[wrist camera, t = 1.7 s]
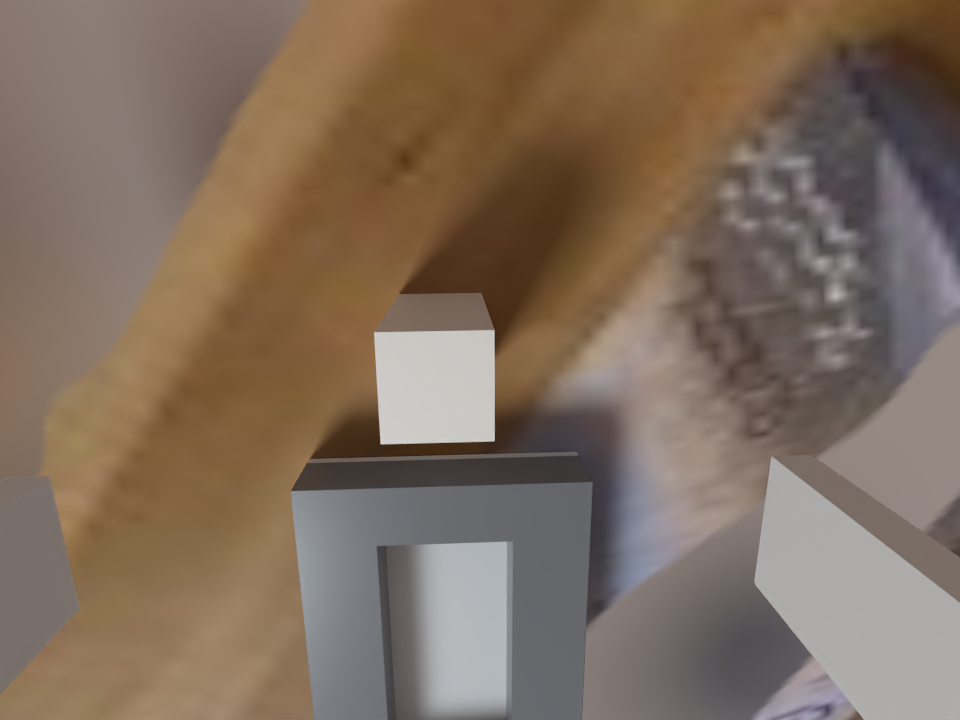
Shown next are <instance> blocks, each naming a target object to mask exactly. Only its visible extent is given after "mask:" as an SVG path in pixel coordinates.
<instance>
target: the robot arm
mask: <svg viewBox="0 0 960 720" xmlns="http://www.w3.org/2000/svg"><path fill="white" fill-rule="evenodd" d="M754 583H755V585H756V586H757V587H758V588H759V590H760V591H761V592H762V593H763V595H764V596H765V597H766V598H767V600H768V601H769V602H770V603H771V604H772V606H773V607H774V608H775V609H776V611H777V612H778V613H779V614H780V616H781V617H782V618H783V619H784V620H785V622H786V623H787V624H788V626H789V627H790V628H791V629H792V631H793V632H794V633H795V634H796V636H797V637H798V638H799V639H800V641H801V642H802V643H803V644H804V645H805V647H806V648H807V649H808V651H809V652H810V653H811V654H812V655H813V657H814V658H815V659H816V660H817V662H818V663H819V664H820V665H821V667H822V668H823V669H824V670H825V672H826V673H827V674H828V675H829V677H830V678H831V679H832V680H833V682H834V683H835V684H836V685H837V687H838V688H839V689H840V690H841V692H842V693H843V694H844V695H845V697H846V698H847V699H848V700H849V701H850V703H851V704H852V705H853V706H854V708H855V709H856V710H857V711H858V713H859V714H860V715H861V716H862V718H863V719H864V720H960V557H958V556H957V555H955V554H954V553H953V552H951V551H950V550H948V549H947V548H945V547H944V546H942V545H941V544H939V543H938V542H937V541H935V540H934V539H932V538H931V537H929V536H928V535H926V534H925V533H924V532H922V531H921V530H919V529H917V528H916V527H915V526H913V525H912V524H910V523H909V522H907V521H906V520H905V519H903V518H902V517H900V516H899V515H897V514H896V513H895V512H893V511H892V510H890V509H889V508H887V507H886V506H884V505H883V504H881V503H880V502H878V501H877V500H875V499H874V498H873V497H871V496H870V495H868V494H867V493H866V492H864V491H863V490H861V489H860V488H858V487H857V486H855V485H854V484H852V483H851V482H850V481H848V480H847V479H845V478H844V477H842V476H841V475H839V474H838V473H837V472H835V471H833V470H832V469H830V468H829V467H828V466H826V465H825V464H823V463H822V462H820V461H819V460H818V459H816V458H815V457H813V456H812V455H797V456H772V457H771V464H770V471H769V479H768V486H767V493H766V501H765V508H764V515H763V523H762V530H761V537H760V545H759V552H758V559H757V567H756V574H755V582H754ZM78 610H79V605H78V600H77V596H76V591H75V587H74V582H73V578H72V574H71V569H70V565H69V560H68V556H67V551H66V547H65V543H64V538H63V534H62V529H61V525H60V520H59V516H58V512H57V507H56V503H55V498H54V494H53V489H52V485H51V481H50V477H20V478H4V479H2V480H1V481H0V694H1V693H2V692H3V691H4V690H5V689H6V687H7V686H8V685H9V684H10V683H11V682H12V681H13V680H14V679H15V678H16V677H17V676H18V675H19V673H20V672H21V671H22V670H23V669H24V668H25V667H26V666H27V665H28V664H29V663H30V662H31V661H32V659H33V658H34V657H35V656H36V655H37V654H38V653H39V652H40V651H41V650H42V649H43V648H44V647H45V645H46V644H47V643H48V642H49V641H50V640H51V639H52V638H53V637H54V636H55V635H56V634H57V633H58V631H59V630H60V629H61V628H62V627H63V626H64V625H65V624H66V623H67V622H68V621H69V620H70V619H71V617H72V616H73V615H74V614H75V613H76V612H77V611H78Z"/></svg>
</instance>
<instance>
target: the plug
mask: <svg viewBox="0 0 960 720" xmlns="http://www.w3.org/2000/svg"><path fill="white" fill-rule="evenodd" d="M374 338H375V356H376V373H377V391H378V408H379V426H380V443H381V444H414V443H452V442H490V441H495V330H494V327H493V324H492V322H491V319H490V316H489V313H488V310H487V308H486V305H485V302H484V299H483V296H482V293H437V294H399V295H398V296H397V298H396V299H395V301H394V302H393V304H392V306H391V307H390V309H389V310H388V312H387V313H386V315H385V316H384V318H383V319H382V321H381V323H380V324H379V326H378V327H377V329H376V330H375V332H374Z"/></svg>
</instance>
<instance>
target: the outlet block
mask: <svg viewBox="0 0 960 720" xmlns="http://www.w3.org/2000/svg"><path fill="white" fill-rule="evenodd" d="M592 488H593V482H592V480H591V478H590V476H589V474H588V472H587V470H586V468H585V466H584V464H583V462H582V460H581V458H580V456H579V455H578V453H577V452H544V453H508V454H472V455H435V456H399V457H363V458H327V459H309V461H308V462H307V464H306V466H305V467H304V469H303V471H302V473H301V474H300V476H299V478H298V480H297V481H296V483H295V485H294V487H293V488H292V490H291V498H292V508H293V517H294V527H295V537H296V546H297V556H298V566H299V576H300V585H301V595H302V605H303V614H304V624H305V634H306V644H307V653H308V663H309V673H310V682H311V692H312V702H313V712H314V720H582V705H583V704H582V703H583V684H584V662H585V640H586V619H587V597H588V575H589V554H590V532H591V510H592Z"/></svg>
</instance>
